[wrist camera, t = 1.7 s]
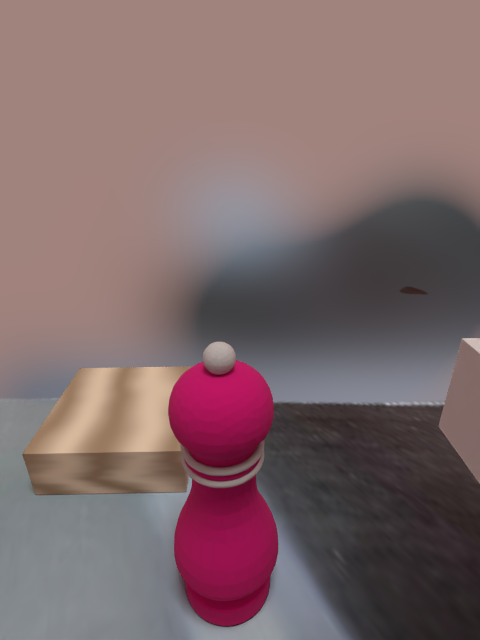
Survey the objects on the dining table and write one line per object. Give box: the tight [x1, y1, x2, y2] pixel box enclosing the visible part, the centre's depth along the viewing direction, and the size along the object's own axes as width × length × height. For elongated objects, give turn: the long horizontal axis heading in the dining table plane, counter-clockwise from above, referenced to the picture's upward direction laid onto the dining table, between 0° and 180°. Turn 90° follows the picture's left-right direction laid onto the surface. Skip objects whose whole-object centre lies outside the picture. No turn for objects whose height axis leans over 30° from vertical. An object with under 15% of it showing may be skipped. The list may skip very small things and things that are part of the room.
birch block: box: [22, 367, 191, 495], centre depth 41 cm, size 14×14×5 cm
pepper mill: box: [168, 342, 278, 626], centre depth 25 cm, size 7×7×20 cm
